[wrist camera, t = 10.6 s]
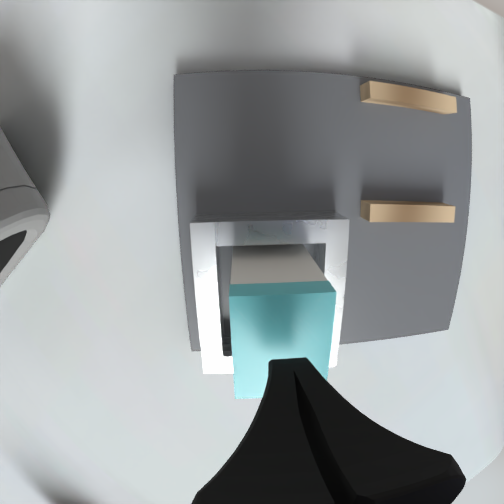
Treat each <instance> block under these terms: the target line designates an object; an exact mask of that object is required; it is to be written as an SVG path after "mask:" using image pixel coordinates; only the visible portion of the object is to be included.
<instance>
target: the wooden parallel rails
mask: <svg viewBox="0 0 504 504" xmlns="http://www.w3.org/2000/svg"><path fill="white" fill-rule="evenodd" d="M360 96H361V102H366V103H375V104H383V105H391V106H398V107H405V108H411V109H417V110H423V111H428V112H434V113H439V114H451V113H457V103H456V97H453V96H449V95H445V94H441V93H436V92H432V91H427V90H422V89H417V88H412V87H407V86H401V85H395V84H389V83H382V82H375V81H368V82H366V83H364V84H362V85H360ZM360 217H361V218H363V219H365V220H367V221H369V222H449V223H454V218H455V206H452V205H449V204H445V203H439V202H415V201H380V200H361V212H360Z"/></svg>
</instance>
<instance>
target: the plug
mask: <svg viewBox="0 0 504 504" xmlns="http://www.w3.org/2000/svg"><path fill="white" fill-rule="evenodd" d="M336 293H337V292H336V290H335V289H334V288H333V286H332V285H331V283H330V282H329V281H328V280H327V278H326V277H325V276H324V274H323V273H322V271H321V270H320V268H319V267H318V265H317V264H316V262H315V261H314V260H313V258H312V257H311V255H310V254H309V252H308V251H307V249H306V248H305V247H304V245H303V244H284V245H248V246H233V253H232V267H231V281H230V288H229V309H230V327H231V345H232V361H233V377H234V392H235V399H246V398H262V397H263V394H264V391H265V387H266V384H267V379H268V362H269V361H270V360H272V359H288V358H303V357H306V358H308V359H309V360H310V362H311V363H312V364H313V365H314V367H315V368H316V369H317V370H318V371H319V373H320V374H321V375H322V376H323V377H324V378H325V379H326V380H327V376H328V368H329V360H330V352H331V344H332V335H333V325H334V315H335V305H336Z"/></svg>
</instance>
